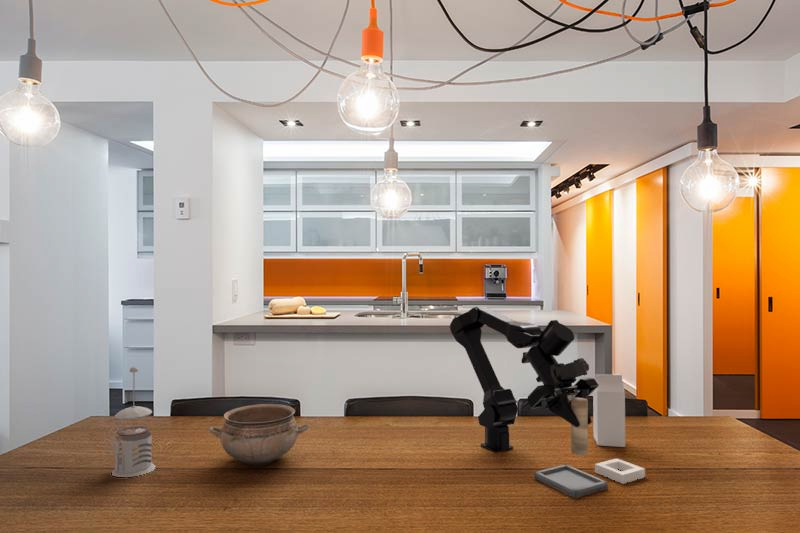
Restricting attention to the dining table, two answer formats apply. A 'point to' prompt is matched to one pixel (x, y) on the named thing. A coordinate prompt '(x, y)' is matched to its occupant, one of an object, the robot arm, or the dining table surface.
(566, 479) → the tray
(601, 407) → the milk carton
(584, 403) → the dowel
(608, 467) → the socket
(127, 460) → the french press
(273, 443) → the cooking pot
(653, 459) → the dining table surface
